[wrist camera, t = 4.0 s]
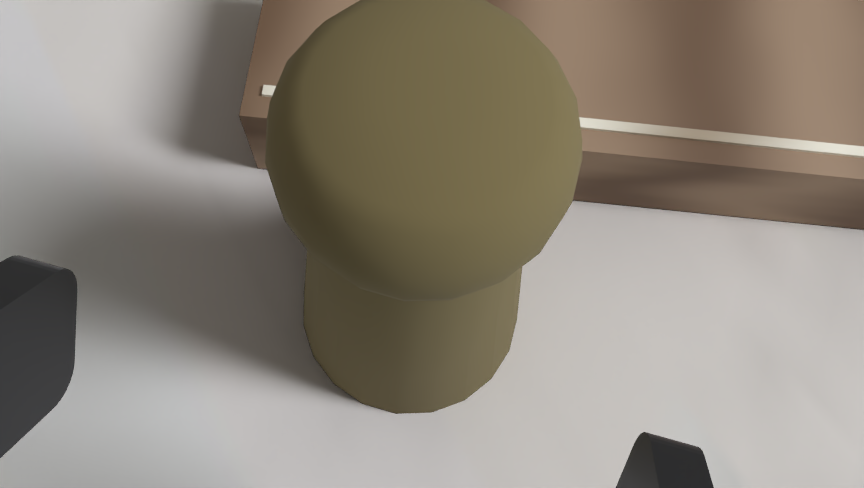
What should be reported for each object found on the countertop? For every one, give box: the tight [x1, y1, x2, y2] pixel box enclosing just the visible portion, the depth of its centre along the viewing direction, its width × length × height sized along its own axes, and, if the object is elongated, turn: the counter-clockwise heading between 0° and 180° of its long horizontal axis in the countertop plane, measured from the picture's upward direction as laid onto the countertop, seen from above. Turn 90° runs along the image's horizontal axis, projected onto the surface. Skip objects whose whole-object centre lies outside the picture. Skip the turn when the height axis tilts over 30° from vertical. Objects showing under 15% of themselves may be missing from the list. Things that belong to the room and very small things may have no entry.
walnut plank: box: [239, 0, 864, 229], centre depth 22 cm, size 24×6×3 cm, turn 85°
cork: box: [265, 0, 582, 414], centre depth 16 cm, size 6×6×11 cm
